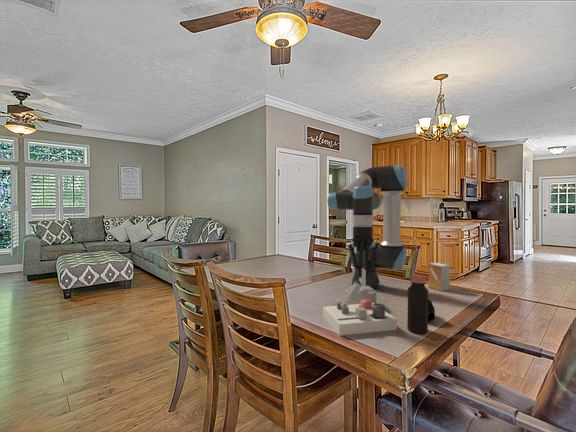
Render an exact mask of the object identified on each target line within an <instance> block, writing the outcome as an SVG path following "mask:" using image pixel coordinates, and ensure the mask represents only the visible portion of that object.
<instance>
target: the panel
mask: <svg viewBox="0 0 576 432" xmlns="http://www.w3.org/2000/svg"><path fill="white" fill-rule="evenodd" d="M341 303H342V301H339V302H336V305H329V306H323V307H322V317H323V318H324V320H325V321H326V322H327V324H329V325H330V326H331V328H332V329H333V330H334V332H335V333H336V334H337V335H338V336H350V335H359V334H360V335H361V334H370V333H379V332H380V333H381V332H389V331H397V330H398V328H397V327H398V323H397V322H398V319H397V318H396V317H395V316H393V315H391V313H388V312H387V311H386V310H385V319H374V318H373V304H374V303H372V309H366V310H367V318H363V319H359V318H358V317H356V308H359V307H361V304H352V305H348V306H347V307H342V308H341V307H340V304H341Z"/></svg>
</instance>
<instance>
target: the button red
mask: <svg viewBox="0 0 576 432" xmlns="http://www.w3.org/2000/svg"><path fill="white" fill-rule="evenodd" d="M361 307H364V308H365V309H372V301H371V300H368V299H363V300H361Z"/></svg>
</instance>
